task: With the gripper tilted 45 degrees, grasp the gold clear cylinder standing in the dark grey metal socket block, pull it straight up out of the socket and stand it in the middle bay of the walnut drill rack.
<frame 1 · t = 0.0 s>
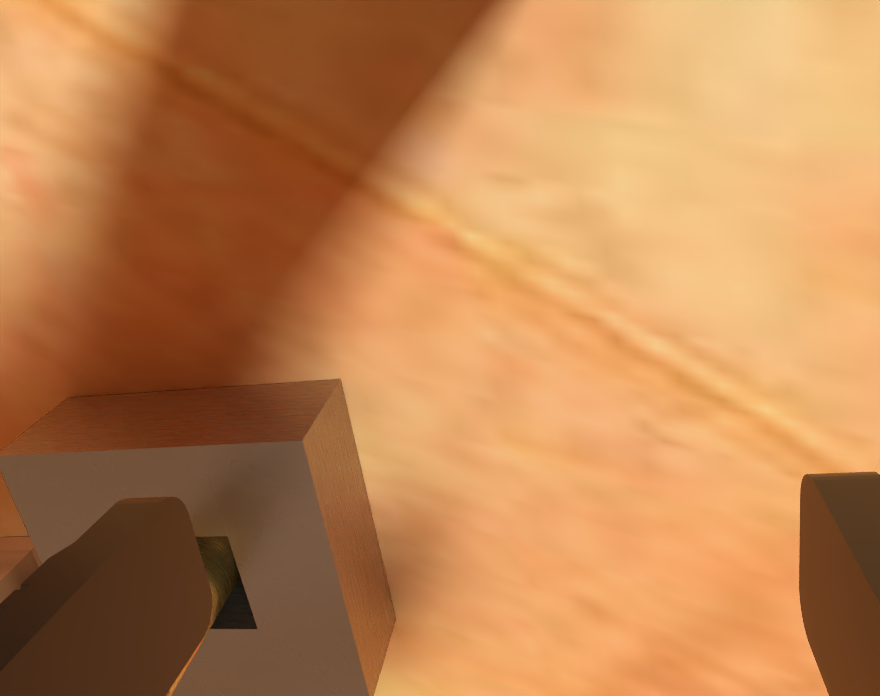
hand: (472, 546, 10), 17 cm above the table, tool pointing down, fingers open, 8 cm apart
socket block: (237, 512, 33), on the table
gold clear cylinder: (227, 526, 32), point 1 cm above the table, touching socket block
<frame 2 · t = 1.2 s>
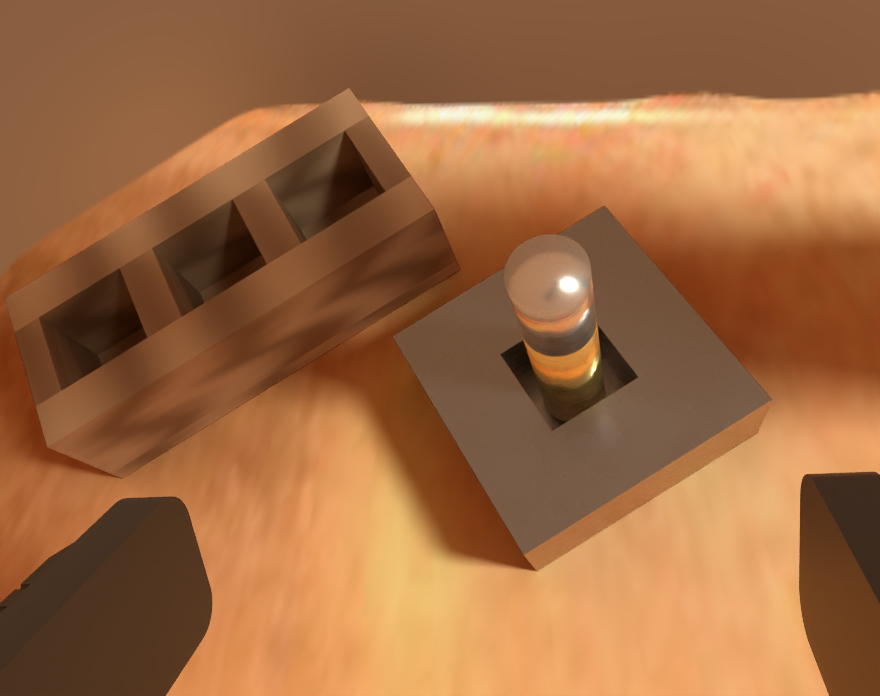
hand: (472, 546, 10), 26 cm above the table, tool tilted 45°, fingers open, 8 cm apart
drill rack: (259, 308, 45), on the table
socket block: (574, 400, 38), on the table
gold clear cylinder: (573, 393, 37), point 1 cm above the table, touching socket block
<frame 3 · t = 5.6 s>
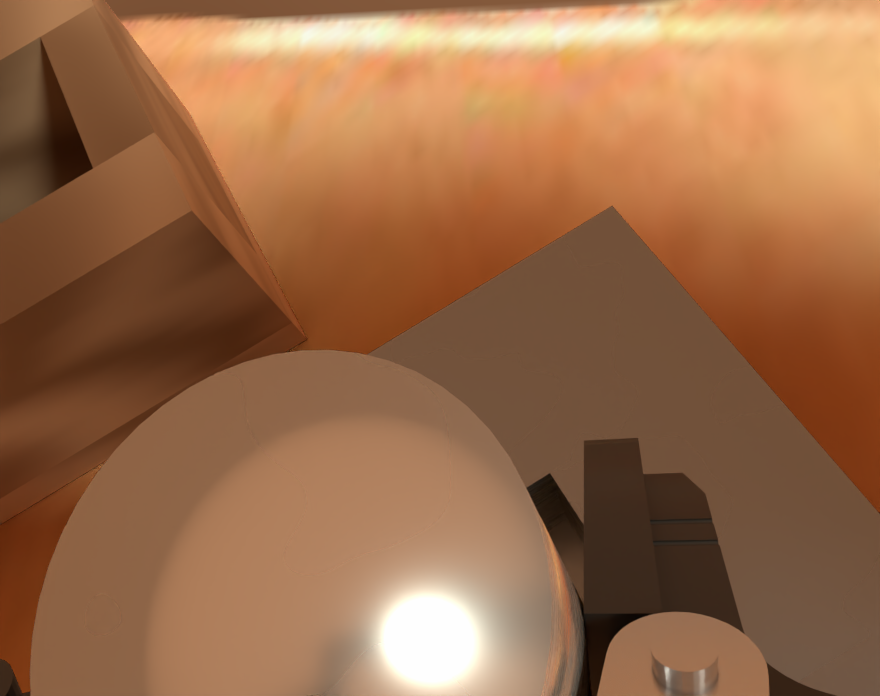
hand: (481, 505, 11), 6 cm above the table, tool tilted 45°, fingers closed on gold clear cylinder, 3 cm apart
socket block: (537, 676, 16), on the table
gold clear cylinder: (531, 674, 15), point 1 cm above the table, touching gripper, socket block
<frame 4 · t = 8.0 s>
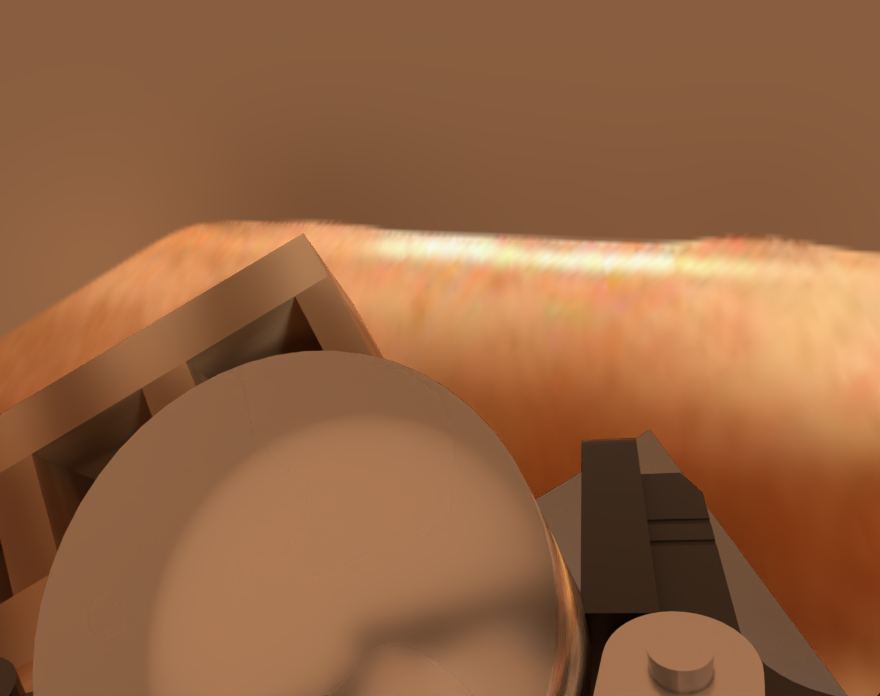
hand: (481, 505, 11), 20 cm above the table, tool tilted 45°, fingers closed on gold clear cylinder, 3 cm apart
drill rack: (185, 509, 34), on the table
socket block: (605, 690, 27), on the table
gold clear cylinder: (534, 674, 15), point 14 cm above the table, touching gripper
when the fingers open (8 cm above the table, at t = 12.2 s): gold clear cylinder drops 2 cm, resting on drill rack.
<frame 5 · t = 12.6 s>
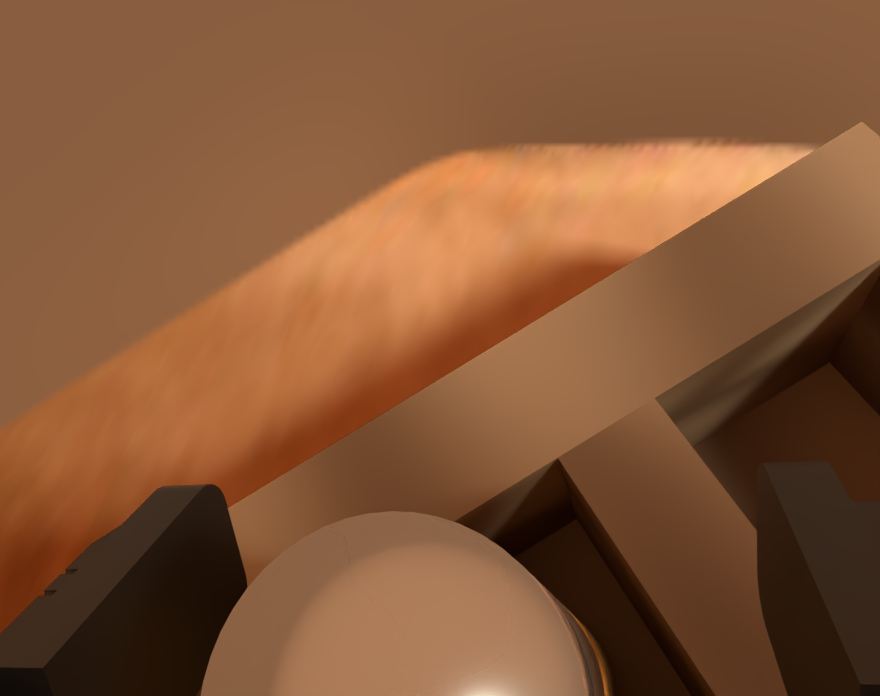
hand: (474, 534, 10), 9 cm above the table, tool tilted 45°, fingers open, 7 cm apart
drill rack: (547, 679, 17), on the table
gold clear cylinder: (544, 684, 16), point 1 cm above the table, touching drill rack
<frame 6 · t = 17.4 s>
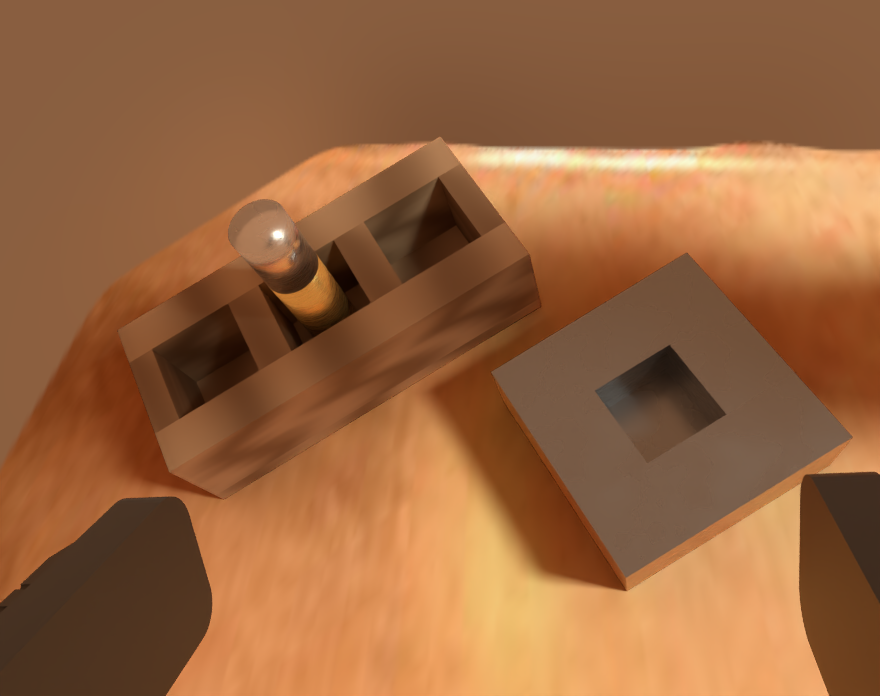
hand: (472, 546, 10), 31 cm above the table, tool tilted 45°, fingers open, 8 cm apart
drill rack: (348, 339, 48), on the table
socket block: (656, 431, 41), on the table
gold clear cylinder: (343, 334, 47), point 1 cm above the table, touching drill rack
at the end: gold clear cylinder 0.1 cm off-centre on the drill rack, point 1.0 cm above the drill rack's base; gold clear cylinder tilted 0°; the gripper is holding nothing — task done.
